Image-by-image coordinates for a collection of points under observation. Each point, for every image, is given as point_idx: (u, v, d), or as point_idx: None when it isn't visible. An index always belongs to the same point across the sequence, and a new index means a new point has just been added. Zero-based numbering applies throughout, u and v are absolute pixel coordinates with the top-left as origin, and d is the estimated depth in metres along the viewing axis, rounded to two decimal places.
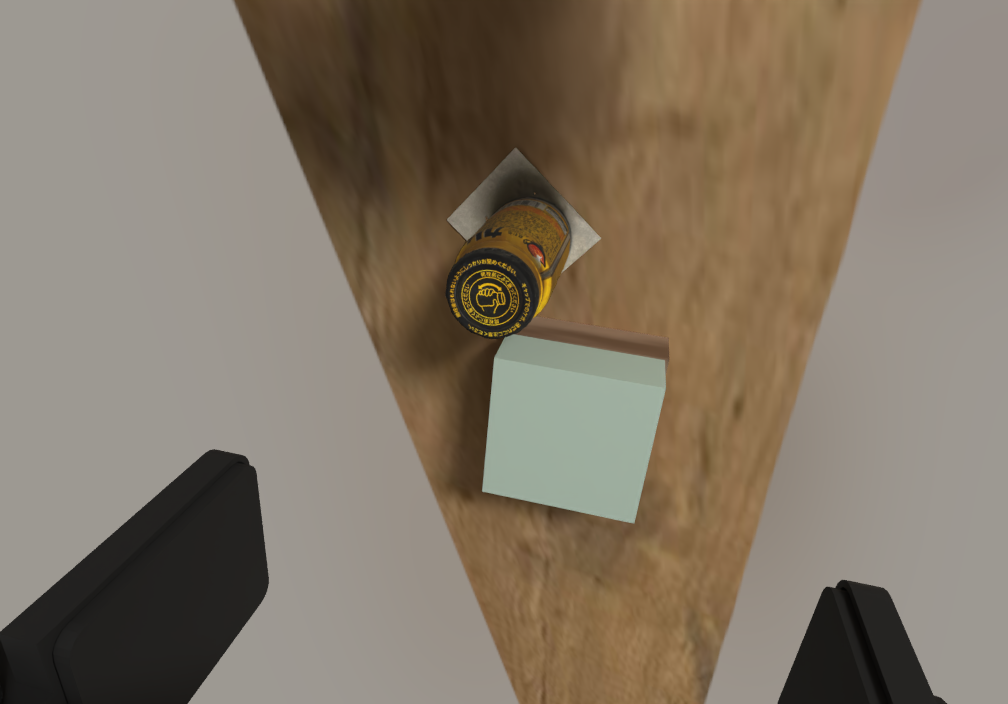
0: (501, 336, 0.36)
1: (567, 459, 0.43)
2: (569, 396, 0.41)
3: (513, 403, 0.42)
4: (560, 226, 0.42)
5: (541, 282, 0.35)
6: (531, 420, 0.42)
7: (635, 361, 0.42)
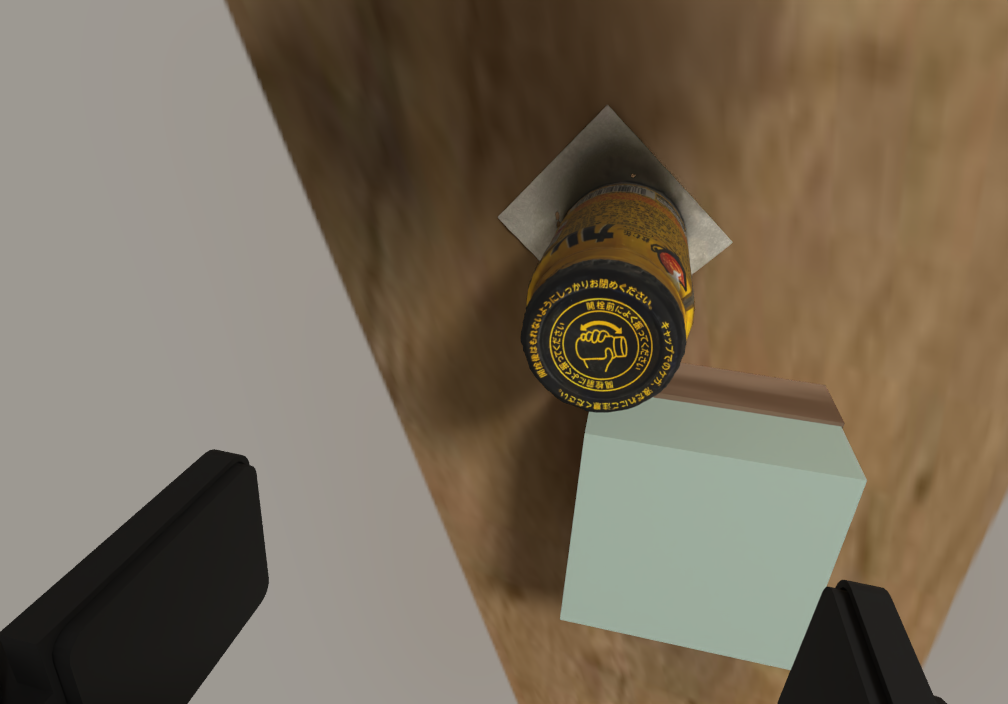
0: (615, 409, 0.21)
1: (694, 580, 0.28)
2: (703, 490, 0.26)
3: (612, 499, 0.28)
4: (680, 224, 0.27)
5: (685, 317, 0.21)
6: (640, 524, 0.28)
7: (798, 430, 0.28)
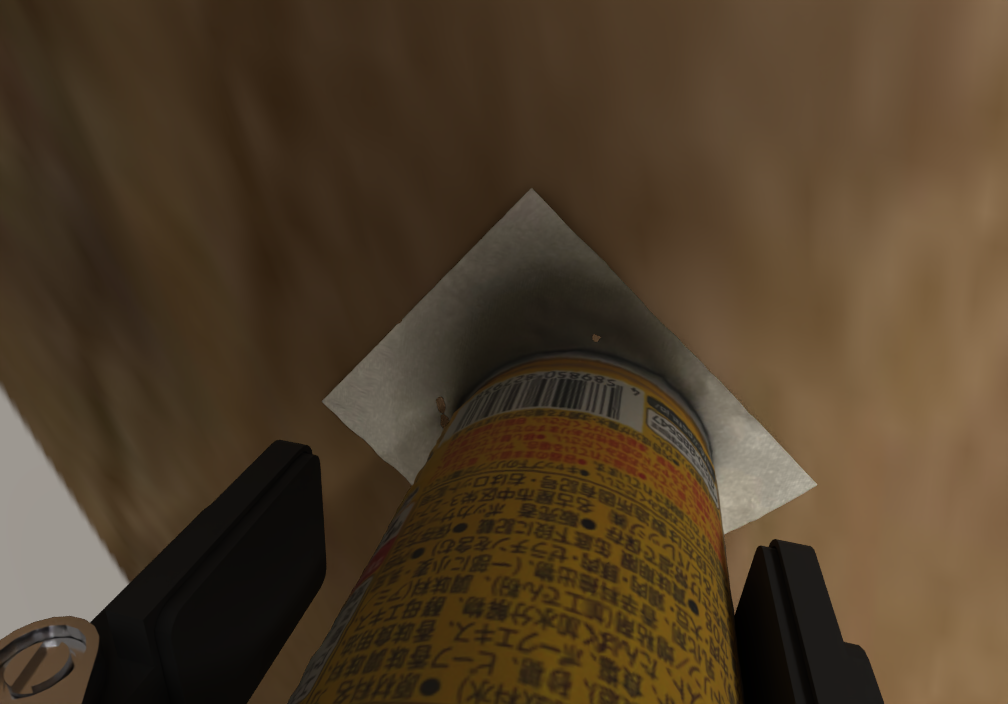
0: None
1: None
2: None
3: None
4: (705, 486, 0.11)
5: None
6: None
7: None
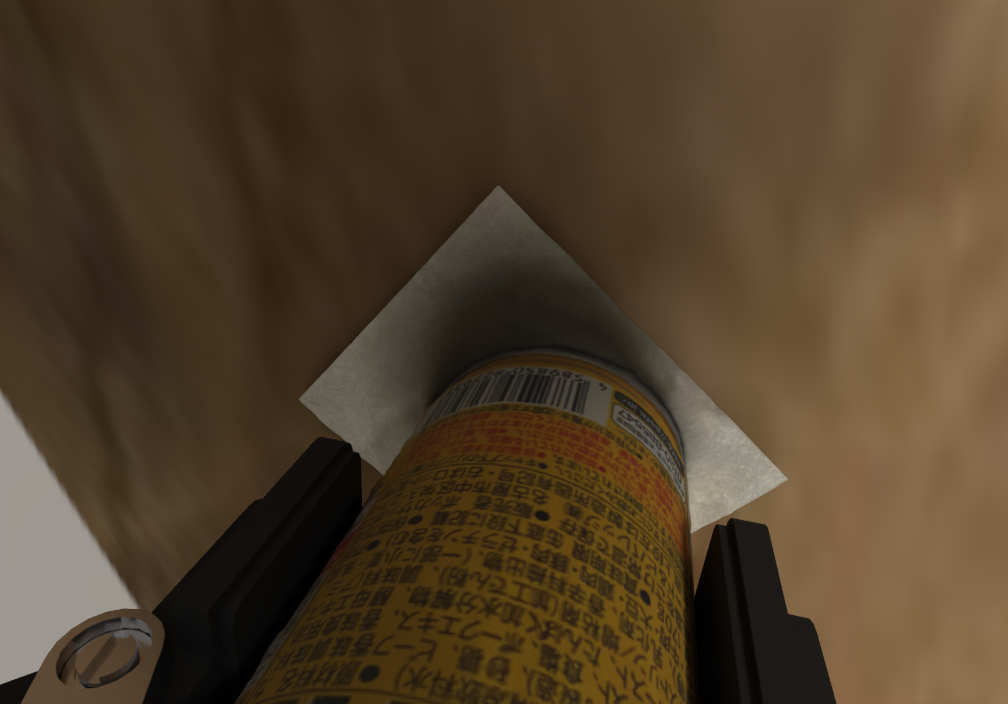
0: None
1: None
2: None
3: None
4: (669, 480, 0.11)
5: None
6: None
7: None
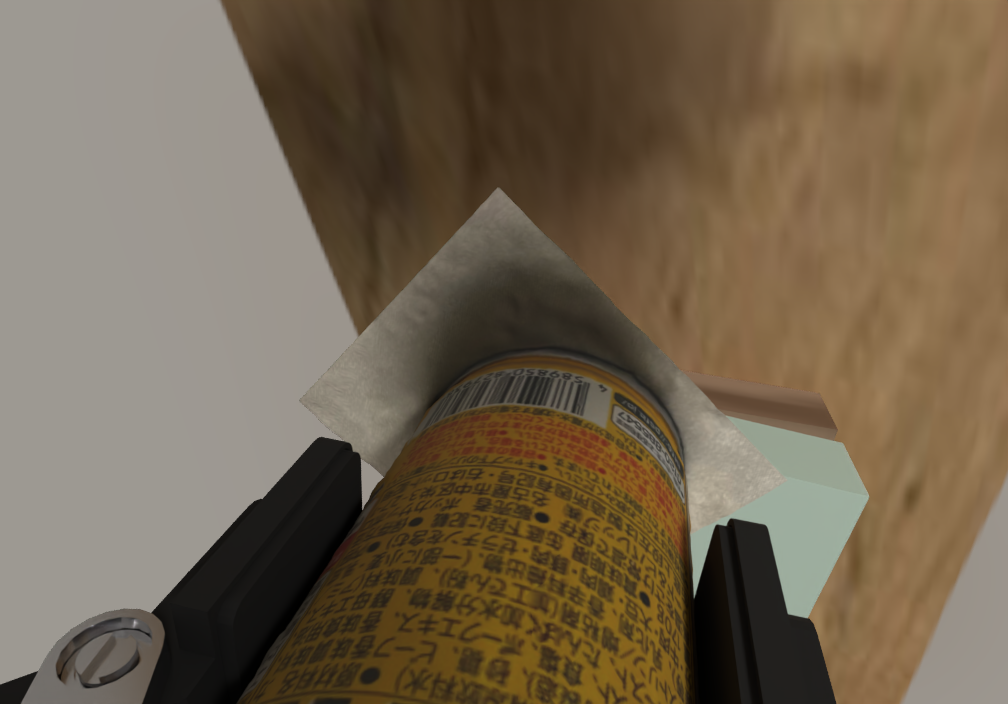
0: None
1: None
2: None
3: None
4: (669, 481, 0.11)
5: None
6: None
7: (802, 443, 0.28)
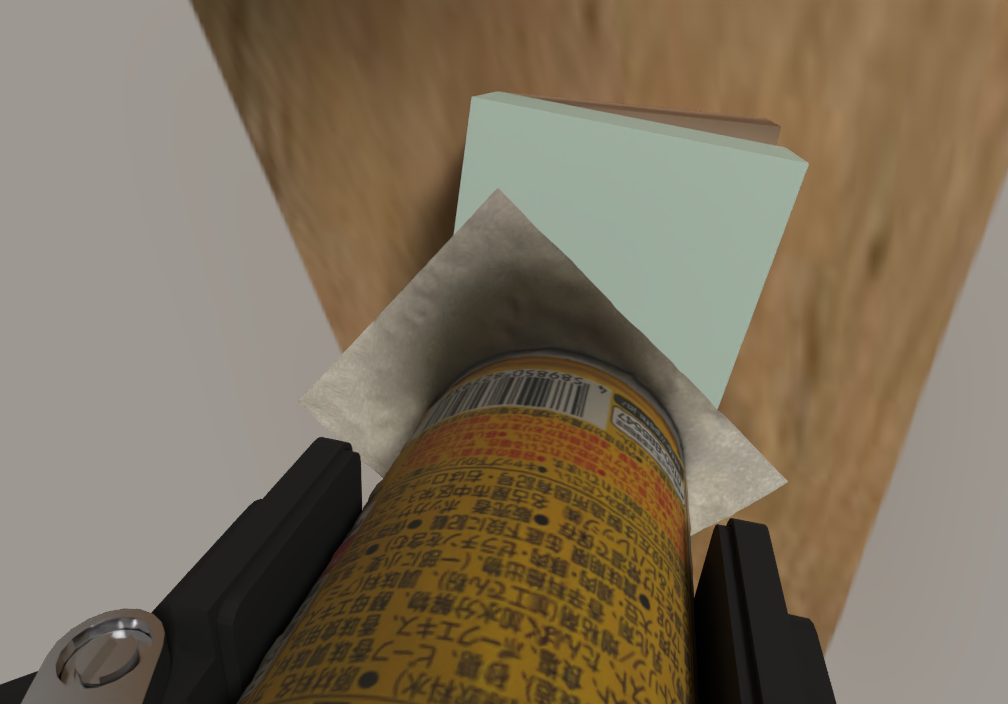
0: None
1: None
2: (611, 183, 0.21)
3: None
4: (669, 483, 0.11)
5: None
6: None
7: (734, 139, 0.23)
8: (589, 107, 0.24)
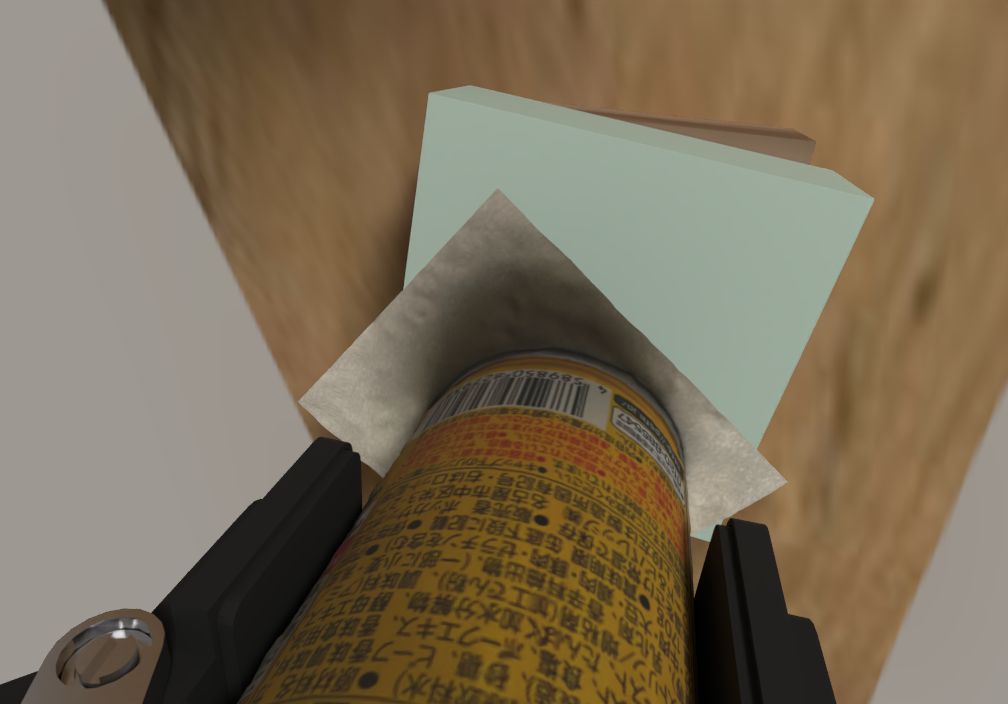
0: None
1: None
2: (609, 213, 0.16)
3: None
4: (669, 483, 0.11)
5: None
6: None
7: (769, 159, 0.18)
8: None
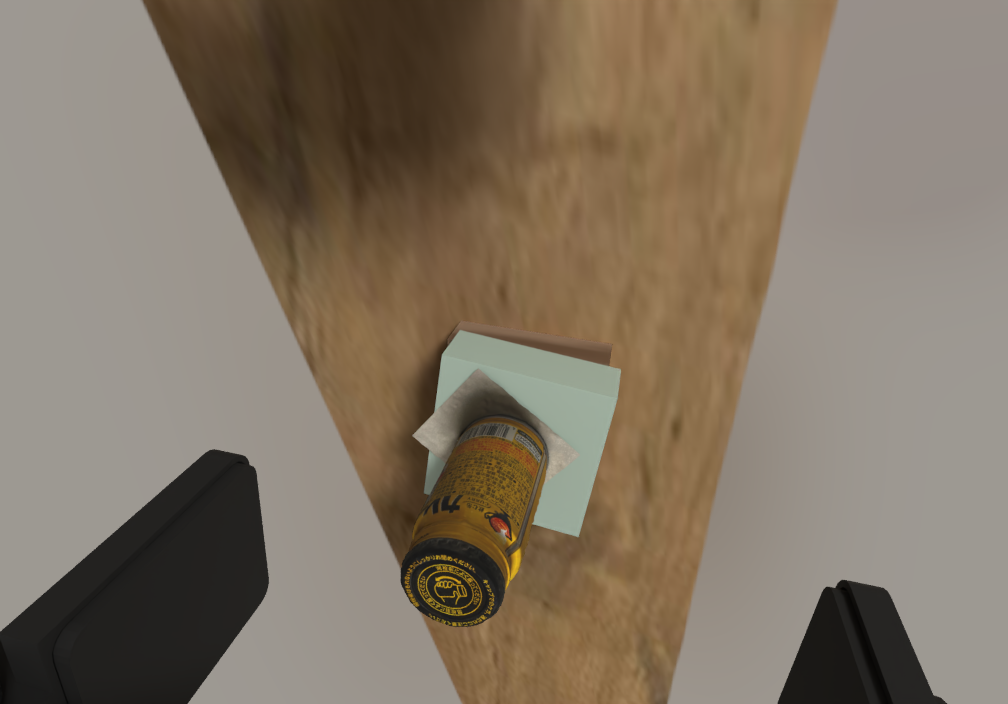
0: (466, 625, 0.31)
1: None
2: (517, 400, 0.39)
3: None
4: (532, 456, 0.38)
5: (507, 564, 0.31)
6: None
7: (589, 368, 0.41)
8: None
